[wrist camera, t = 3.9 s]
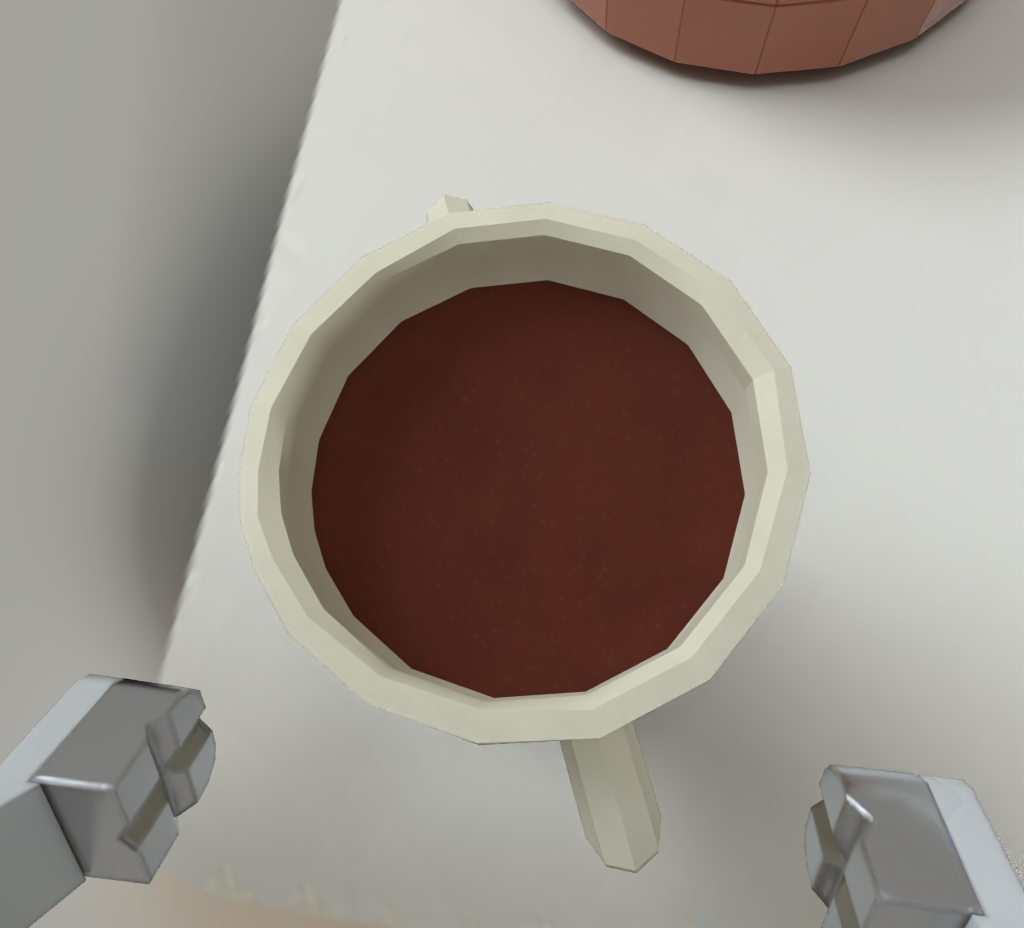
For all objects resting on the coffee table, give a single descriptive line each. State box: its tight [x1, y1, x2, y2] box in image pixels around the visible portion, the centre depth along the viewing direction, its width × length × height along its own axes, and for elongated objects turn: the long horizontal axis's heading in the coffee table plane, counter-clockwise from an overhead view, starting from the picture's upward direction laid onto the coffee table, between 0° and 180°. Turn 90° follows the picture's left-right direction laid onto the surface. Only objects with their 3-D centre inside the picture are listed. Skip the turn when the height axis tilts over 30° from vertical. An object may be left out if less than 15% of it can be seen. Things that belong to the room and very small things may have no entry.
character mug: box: [239, 195, 811, 873], centre depth 15 cm, size 11×7×13 cm, turn 15°
